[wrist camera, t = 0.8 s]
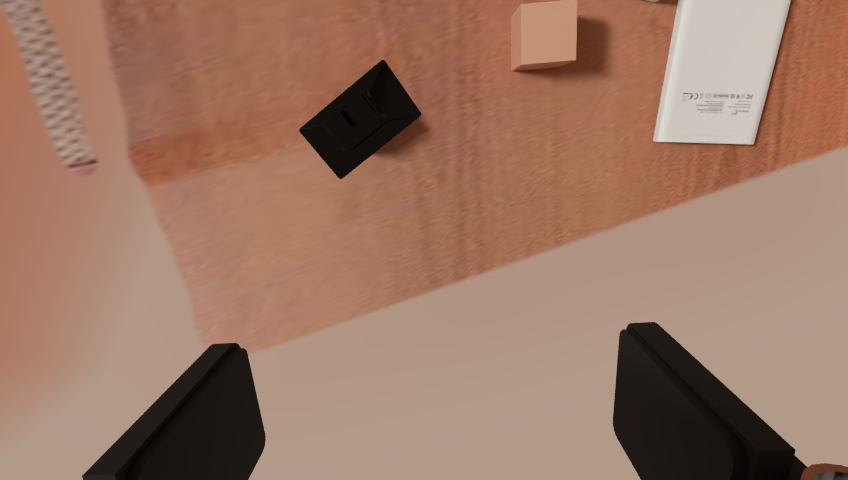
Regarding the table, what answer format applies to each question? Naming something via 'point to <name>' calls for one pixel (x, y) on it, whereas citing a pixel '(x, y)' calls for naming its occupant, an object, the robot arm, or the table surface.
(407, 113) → the black boxy piece
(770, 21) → the external hard drive
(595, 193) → the table surface
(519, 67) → the terracotta cube
